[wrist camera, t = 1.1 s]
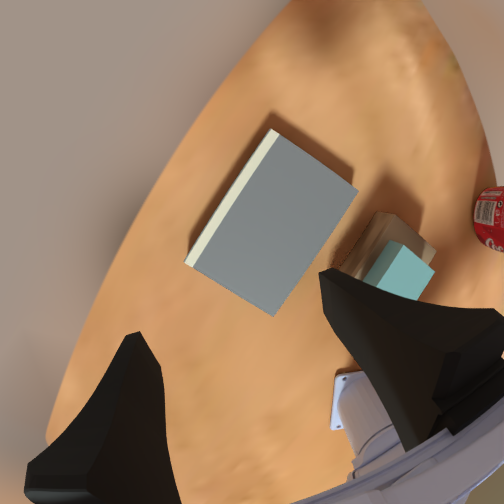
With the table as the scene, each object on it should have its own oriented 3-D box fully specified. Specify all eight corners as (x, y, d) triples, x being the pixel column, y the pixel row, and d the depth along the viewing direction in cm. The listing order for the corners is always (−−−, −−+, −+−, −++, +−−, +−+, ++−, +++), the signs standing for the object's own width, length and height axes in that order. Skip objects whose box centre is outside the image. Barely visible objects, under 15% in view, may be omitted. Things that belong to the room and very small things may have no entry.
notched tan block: (376, 211, 28) (395, 214, 24) (415, 243, 29) (436, 251, 25) (323, 290, 29) (334, 305, 25) (365, 318, 30) (380, 334, 26)
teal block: (389, 239, 24) (403, 244, 22) (420, 264, 25) (434, 271, 23) (356, 290, 25) (367, 299, 23) (388, 312, 26) (400, 323, 23)
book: (268, 132, 26) (270, 128, 24) (351, 190, 27) (359, 191, 25) (187, 256, 28) (183, 261, 26) (271, 308, 29) (273, 317, 27)
